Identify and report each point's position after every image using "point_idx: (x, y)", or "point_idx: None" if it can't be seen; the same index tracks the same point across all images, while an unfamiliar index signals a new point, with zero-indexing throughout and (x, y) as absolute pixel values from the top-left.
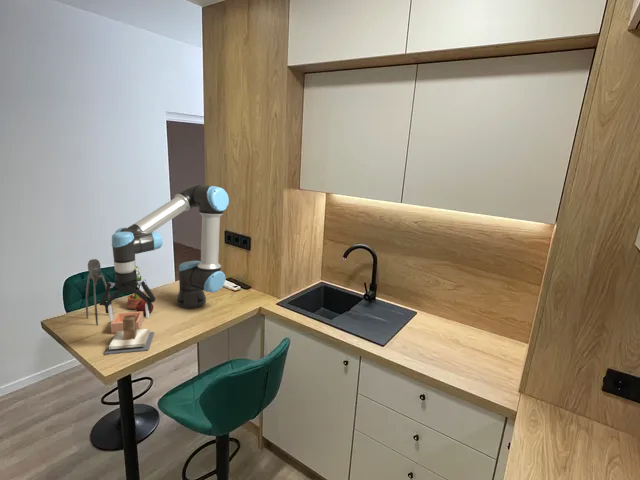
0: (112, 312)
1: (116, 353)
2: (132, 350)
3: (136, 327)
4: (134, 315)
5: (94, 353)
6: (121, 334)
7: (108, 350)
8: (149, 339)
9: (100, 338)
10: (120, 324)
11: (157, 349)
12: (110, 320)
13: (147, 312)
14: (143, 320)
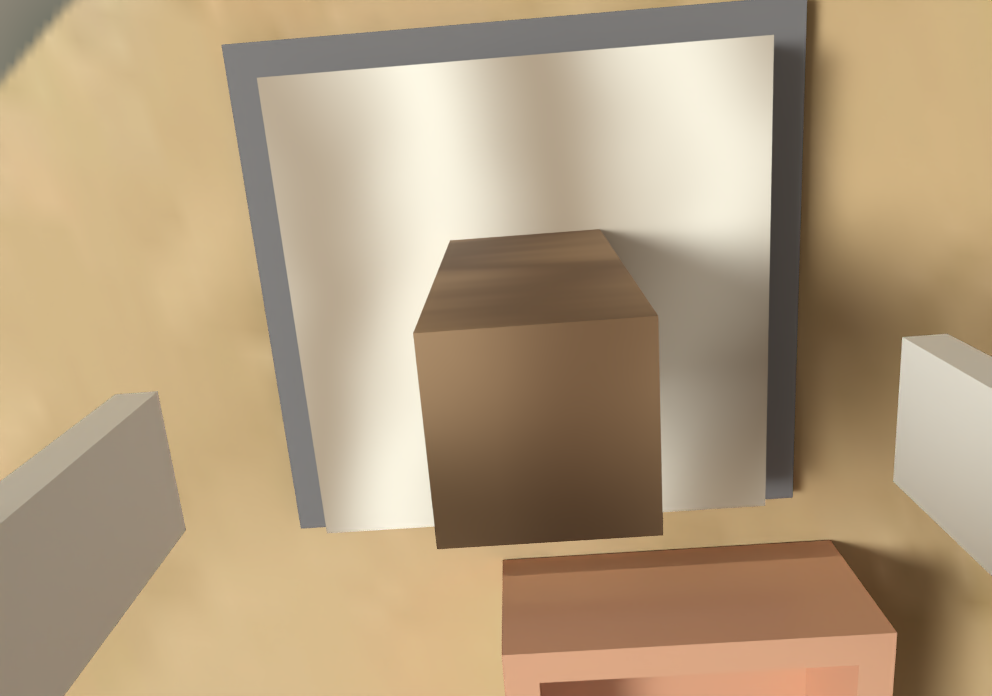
0: (981, 548)
1: (642, 11)
2: (436, 37)
3: (534, 598)
4: (452, 530)
5: (936, 57)
6: (680, 400)
7: None
8: None
9: None
10: (754, 627)
11: (116, 66)
12: (935, 342)
13: (37, 458)
14: None
